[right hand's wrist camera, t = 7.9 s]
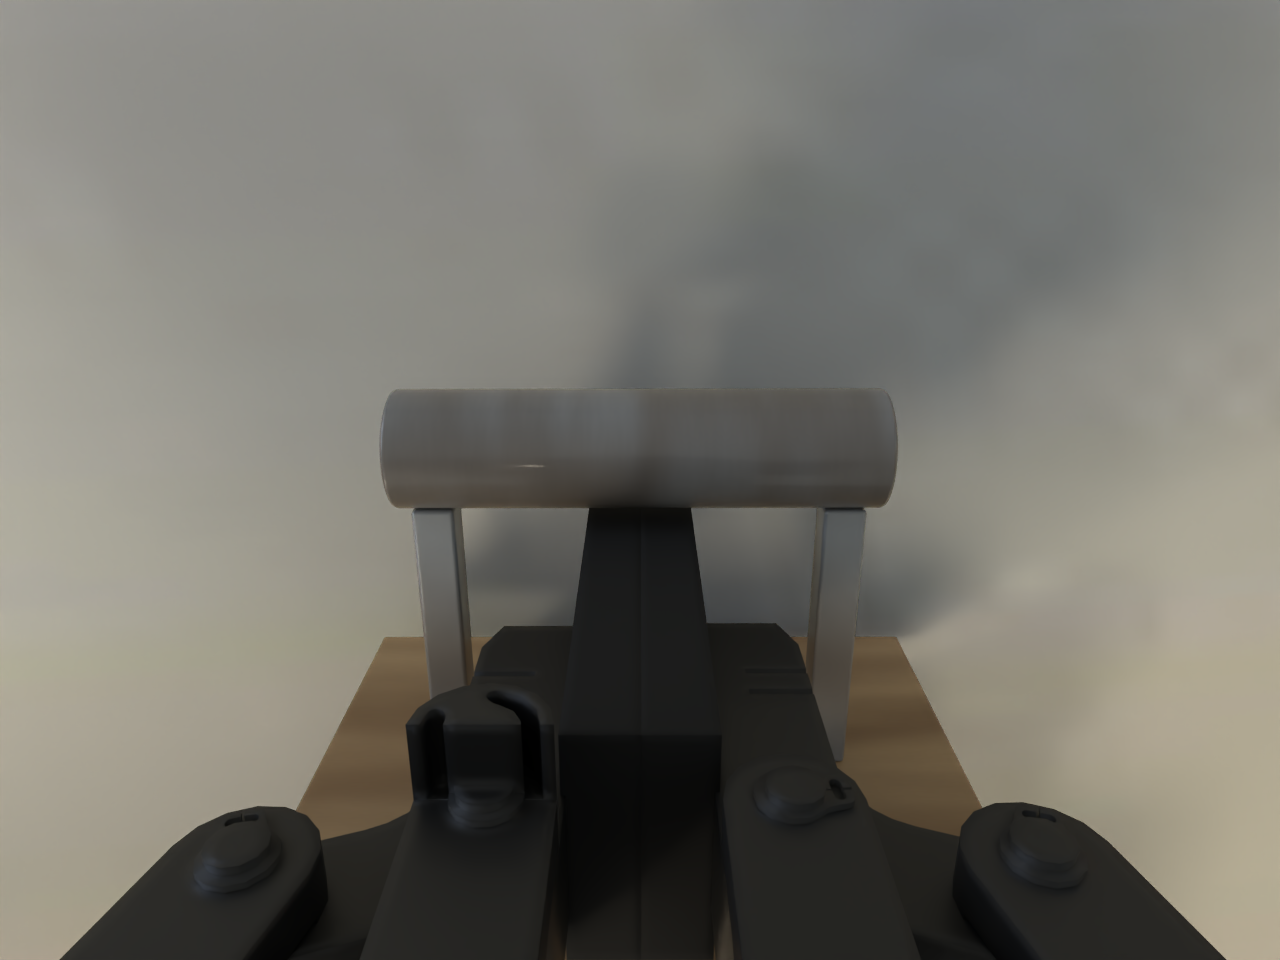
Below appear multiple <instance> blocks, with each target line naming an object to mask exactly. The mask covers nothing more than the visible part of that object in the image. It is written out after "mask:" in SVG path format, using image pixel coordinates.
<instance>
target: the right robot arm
mask: <svg viewBox="0 0 1280 960" xmlns="http://www.w3.org/2000/svg"><path fill="white" fill-rule="evenodd" d="M405 726H406V735H407V744H408V754H409V763H410V772H411V781H412V791H413V803H412V806H411V809H410V811H409V812H408V813H406V814H404V815H402V816H400V817H398V818H396V819H394V820H392V821H390V822H388V823H385V824H382V825H379V826H376V827H373V828H369V829H366V830H362V831H358V832H354V833H350V834H345V835H341V836H337V837H333V838H328V839H324V840H321V837H320V830H319V829H318V828H317V827H316V825H315V824H314V823H313V822H312V821H311V819H310V818H309V817H308V816H307V815H305V814H302V813H300V812H297V811H294V810H292V809H289V808H287V807H265V806H257V807H252V808H248V809H243V810H239V811H234V812H230V813H226V814H224V815H222V816H220V817H218V818H215V819H213V820H211V821H209V822H207V823H205V824H202V825H200V826H198V827H197V828H195V829H194V830H193V831H191V832H190V833H189V834H188V835H186V836H185V837H184V838H182V839H181V840H180V841H178V842H177V843H176V844H175V845H173V846H172V847H171V848H170V849H169V850H168V851H167V852H166V853H165V854H164V855H163V856H162V857H161V858H160V859H159V860H158V861H157V862H156V863H155V864H154V865H153V866H152V867H151V868H150V869H149V870H148V871H147V872H146V873H145V874H144V875H143V876H142V877H141V878H140V879H139V880H138V881H137V882H136V883H135V884H134V885H133V886H132V887H131V888H130V889H129V890H128V891H127V892H126V893H125V894H124V895H123V896H122V897H121V898H120V899H119V900H118V901H117V902H116V903H115V904H114V905H113V906H112V907H111V909H110V910H109V911H108V912H107V913H106V914H105V915H104V916H103V917H102V918H101V919H100V920H99V921H98V922H97V923H96V924H95V925H94V926H93V927H92V928H91V929H90V930H89V931H88V932H87V933H86V934H85V935H84V936H83V937H82V938H81V939H80V940H79V941H78V942H77V943H76V944H75V945H74V946H73V947H72V948H71V949H70V950H69V951H68V952H67V953H66V954H65V955H64V956H63V957H62V958H61V959H60V960H565V952H566V957H567V960H714V946H715V957H716V960H1226V959H1225V958H1224V957H1223V956H1222V955H1221V954H1220V953H1219V952H1218V951H1217V950H1216V949H1215V948H1214V947H1213V946H1212V945H1211V944H1210V943H1209V942H1208V941H1207V940H1206V939H1205V938H1204V937H1203V936H1202V935H1201V934H1200V933H1199V932H1198V931H1197V930H1196V929H1195V928H1194V927H1193V926H1192V925H1191V924H1190V923H1189V922H1188V921H1187V920H1186V919H1185V918H1184V917H1183V916H1182V915H1181V914H1180V913H1179V912H1178V911H1177V910H1176V909H1175V908H1174V907H1173V906H1172V905H1171V904H1170V903H1169V902H1168V901H1167V900H1166V899H1165V898H1164V897H1163V896H1162V895H1161V894H1160V893H1159V892H1158V891H1157V890H1156V889H1155V888H1154V887H1153V886H1152V885H1151V884H1150V883H1149V882H1148V881H1147V880H1146V879H1145V878H1144V877H1143V876H1142V875H1141V874H1140V873H1139V872H1138V871H1137V870H1136V869H1135V868H1134V867H1133V866H1132V865H1131V864H1130V863H1129V862H1128V861H1127V860H1126V859H1125V858H1124V857H1123V856H1122V855H1121V854H1120V853H1119V852H1118V851H1117V850H1116V849H1115V848H1114V847H1113V846H1112V845H1111V844H1110V843H1109V842H1108V841H1107V840H1105V839H1104V838H1103V837H1101V836H1100V835H1099V834H1097V833H1096V832H1095V831H1093V830H1092V829H1091V828H1090V827H1088V826H1087V825H1086V824H1084V823H1083V822H1081V821H1078V820H1076V819H1074V818H1072V817H1070V816H1068V815H1065V814H1063V813H1061V812H1059V811H1057V810H1054V809H1051V808H1046V807H1042V806H1037V805H1033V804H1028V803H1023V802H1019V803H994V804H992V805H989V806H986V807H984V808H981V809H979V810H976V811H974V812H973V813H972V814H971V815H970V816H969V818H968V819H967V820H966V821H965V822H964V824H963V825H962V826H961V831H960V836H955V835H951V834H947V833H942V832H938V831H934V830H930V829H925V828H921V827H917V826H913V825H910V824H907V823H904V822H901V821H897V820H894V819H892V818H890V817H888V816H886V815H884V814H882V813H880V812H878V811H876V810H874V809H872V808H871V807H869V805H868V802H867V799H866V797H865V796H864V794H863V793H862V791H861V790H860V788H859V786H858V785H857V783H856V782H855V781H854V780H853V779H852V778H850V777H849V776H848V775H846V774H845V773H844V772H842V771H841V770H840V769H838V768H837V765H836V762H835V759H834V756H833V753H832V749H831V746H830V743H829V740H828V737H827V733H826V730H825V727H824V724H823V721H822V718H821V714H820V711H819V708H818V705H817V702H816V698H815V695H814V694H813V692H812V686H811V683H810V679H809V676H808V673H806V667H805V663H804V660H803V657H802V654H801V651H800V648H799V644H798V643H797V642H795V641H794V640H793V639H792V638H791V637H790V636H789V635H788V634H787V633H786V632H785V631H784V630H782V629H781V628H780V627H779V626H778V625H777V624H776V623H707V622H706V615H705V608H704V601H703V593H702V586H701V579H700V572H699V564H698V557H697V550H696V543H695V535H694V528H693V521H692V514H691V508H589V514H588V522H587V529H586V536H585V543H584V551H583V558H582V565H581V572H580V580H579V587H578V594H577V601H576V609H575V616H574V623H573V626H504V627H503V628H502V629H501V630H500V631H499V632H498V633H497V634H496V635H494V636H493V637H492V638H491V639H490V640H489V641H488V642H487V643H486V644H485V645H484V646H483V647H482V648H481V651H480V655H479V658H478V661H477V664H476V667H475V671H474V676H473V677H472V680H471V684H470V685H468V686H462V687H459V688H456V689H453V690H450V691H447V692H444V693H441V694H438V695H437V696H435V697H434V698H432V699H431V700H429V701H427V702H426V703H424V704H423V705H421V706H420V707H418V708H417V709H416V711H415V712H414V714H413V715H412V716H411V718H410V719H409V720H408V722H407V723H406V725H405Z"/></svg>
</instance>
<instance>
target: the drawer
mask: <svg viewBox="0 0 1280 960" xmlns="http://www.w3.org/2000/svg"><path fill="white" fill-rule="evenodd" d="M897 456H898V436H897V424H896V417H895V412H894V408H893V404H892V401H891V399H890V396H889V395H888V393H887V392H886V391H885V390H883V389H880V388H814V389H397V390H394V391H392V392H391V393H390V395H389V396H388V398H387V401H386V403H385V407H384V410H383V415H382V420H381V428H380V465H381V473H382V479H383V484H384V488H385V491H386V494H387V497H388V499H389V501H390V503H391V504H392V505H393V506H395V507H397V508H414V510H413V512H412V522H413V532H414V542H415V552H416V562H417V572H418V582H419V592H420V602H421V612H422V622H423V632H424V637H385V638H384V640H383V642H382V644H381V646H380V647H379V649H378V651H377V653H376V655H375V657H374V659H373V661H372V663H371V665H370V667H369V669H368V671H367V673H366V675H365V677H364V679H363V681H362V683H361V685H360V687H359V688H358V690H357V692H356V694H355V696H354V698H353V700H352V702H351V704H350V706H349V708H348V710H347V712H346V714H345V716H344V718H343V720H342V722H341V724H340V726H339V728H338V729H337V731H336V733H335V735H334V737H333V739H332V741H331V743H330V745H329V747H328V749H327V751H326V753H325V755H324V757H323V759H322V761H321V763H320V765H319V767H318V769H317V770H316V772H315V774H314V776H313V778H312V780H311V782H310V784H309V786H308V788H307V790H306V792H305V794H304V796H303V798H302V800H301V802H300V804H299V806H298V808H297V810H296V811H297V812H300V813H302V814H305V815H307V816H308V817H309V818H310V819H311V821H312V822H313V823H314V824H315V825H316V827H317V828H318V829H319V830H320V837H321V840H324V839H328V838H333V837H337V836H341V835H345V834H350V833H354V832H358V831H362V830H366V829H369V828H373V827H376V826H379V825H382V824H385V823H388V822H390V821H392V820H394V819H396V818H398V817H400V816H402V815H404V814H406V813H408V812H409V811H410V809H411V806H412V803H413V791H412V781H411V772H410V763H409V754H408V744H407V735H406V726H405V725H406V723H407V722H408V720H409V719H410V718H411V716H412V715H413V714H414V712H415V711H416V709H417V708H418V707H420V706H421V705H423V704H424V703H426V702H427V701H429V700H431V699H432V698H434V697H435V696H437V695H438V694H441V693H444V692H447V691H450V690H453V689H456V688H459V687H462V686H468V685H470V684H471V680H472V677H473V676H474V671H475V667H476V664H477V661H478V658H479V655H480V651H481V648H482V647H483V646H484V645H485V644H486V643H487V642H488V641H489V640H490V639H491V638H492V637H471V628H470V615H469V603H468V590H467V577H466V564H465V552H464V539H463V526H462V514H461V508H817V515H816V529H815V543H814V556H813V570H812V584H811V598H810V611H809V625H808V637H791V638H792V639H793V640H794V641H795V642H797V643H798V644H799V648H800V651H801V654H802V657H803V660H804V663H805V667H806V673H808V676H809V679H810V683H811V686H812V692H813V694H814V695H815V698H816V702H817V705H818V708H819V711H820V714H821V718H822V721H823V724H824V727H825V730H826V733H827V737H828V740H829V743H830V746H831V749H832V753H833V756H834V759H835V762H836V765H837V768H838V769H840V770H841V771H842V772H844V773H845V774H846V775H848V776H849V777H850V778H852V779H853V780H854V781H855V782H856V783H857V785H858V786H859V788H860V790H861V791H862V793H863V794H864V796H865V797H866V799H867V802H868V805H869V807H871V808H872V809H874V810H876V811H878V812H880V813H882V814H884V815H886V816H888V817H890V818H892V819H894V820H897V821H901V822H904V823H907V824H910V825H913V826H917V827H921V828H925V829H930V830H934V831H938V832H942V833H947V834H951V835H955V836H960V831H961V826H962V825H963V824H964V822H965V821H966V820H967V819H968V818H969V816H970V815H971V814H972V813H973V812H974V811H976V810H979V809H981V808H982V806H981V804H980V802H979V800H978V798H977V796H976V794H975V792H974V791H973V789H972V787H971V785H970V783H969V781H968V779H967V777H966V775H965V773H964V771H963V769H962V767H961V765H960V763H959V761H958V759H957V757H956V755H955V753H954V751H953V749H952V747H951V745H950V743H949V741H948V739H947V737H946V735H945V733H944V731H943V729H942V727H941V725H940V723H939V721H938V719H937V717H936V715H935V713H934V711H933V709H932V707H931V705H930V703H929V701H928V699H927V697H926V695H925V693H924V691H923V689H922V687H921V685H920V683H919V681H918V679H917V677H916V675H915V673H914V671H913V669H912V667H911V665H910V663H909V661H908V660H907V658H906V656H905V654H904V652H903V650H902V648H901V646H900V644H899V642H898V640H897V638H896V637H855V630H856V620H857V609H858V598H859V588H860V577H861V567H862V556H863V545H864V535H865V524H866V511H865V509H864V508H879V507H882V506H884V505H885V504H886V503H887V502H888V500H889V498H890V495H891V493H892V489H893V486H894V481H895V476H896V469H897ZM565 960H567V957H566V952H565ZM714 960H716V957H715V946H714Z"/></svg>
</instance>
